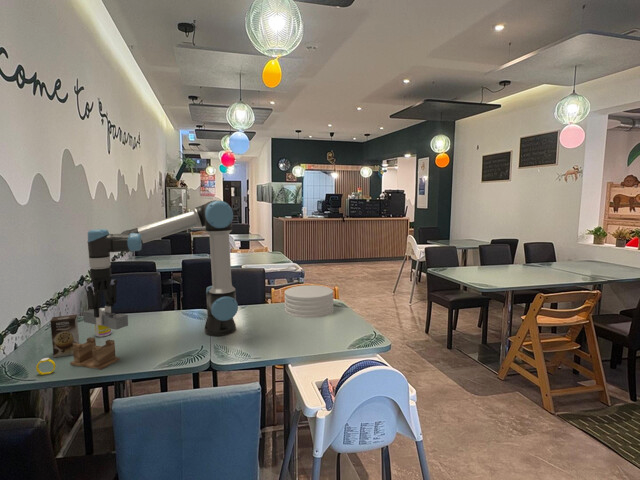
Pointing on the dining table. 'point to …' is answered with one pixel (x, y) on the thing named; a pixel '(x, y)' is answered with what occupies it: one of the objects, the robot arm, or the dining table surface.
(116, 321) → the grey t-shaped block
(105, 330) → the supplement bottle
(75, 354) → the cradle rack
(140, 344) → the dining table surface
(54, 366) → the watch
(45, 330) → the dining table surface
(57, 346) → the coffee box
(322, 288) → the plate stack
